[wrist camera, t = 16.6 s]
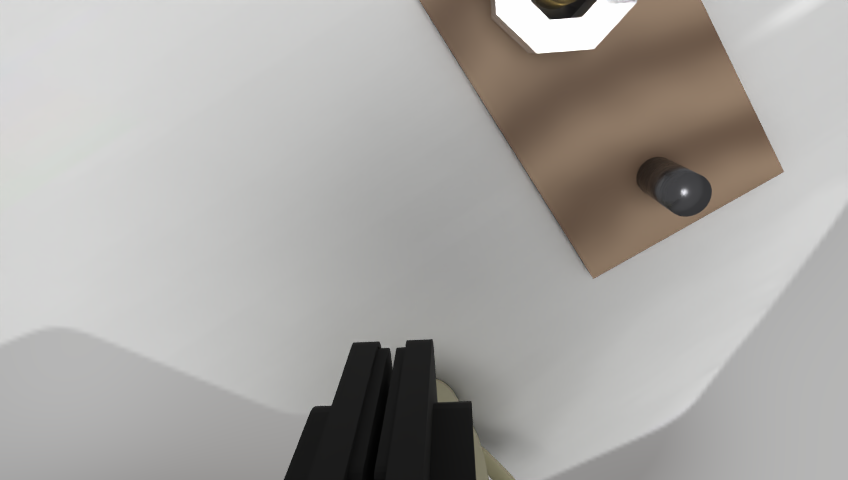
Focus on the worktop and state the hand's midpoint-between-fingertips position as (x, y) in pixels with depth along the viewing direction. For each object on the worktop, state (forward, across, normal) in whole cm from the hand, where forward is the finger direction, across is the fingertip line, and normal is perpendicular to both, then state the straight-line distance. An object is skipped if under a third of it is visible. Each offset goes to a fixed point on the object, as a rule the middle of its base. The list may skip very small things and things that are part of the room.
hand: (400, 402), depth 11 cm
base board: (+25, -10, -4) cm, 28 cm away
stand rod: (+24, -14, +1) cm, 28 cm away
